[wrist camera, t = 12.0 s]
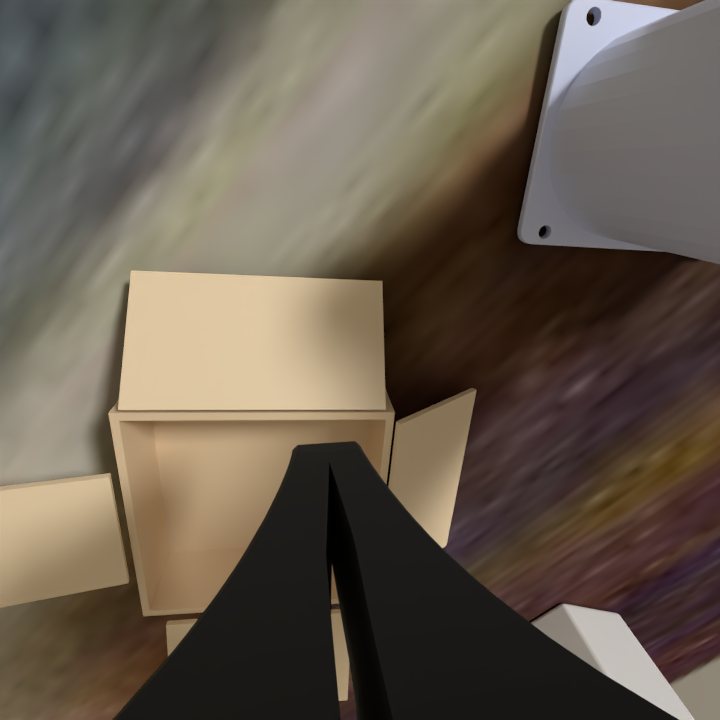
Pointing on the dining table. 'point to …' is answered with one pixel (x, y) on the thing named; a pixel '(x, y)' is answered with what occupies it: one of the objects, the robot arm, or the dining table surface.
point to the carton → (216, 487)
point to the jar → (611, 652)
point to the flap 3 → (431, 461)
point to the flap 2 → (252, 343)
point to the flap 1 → (59, 539)
